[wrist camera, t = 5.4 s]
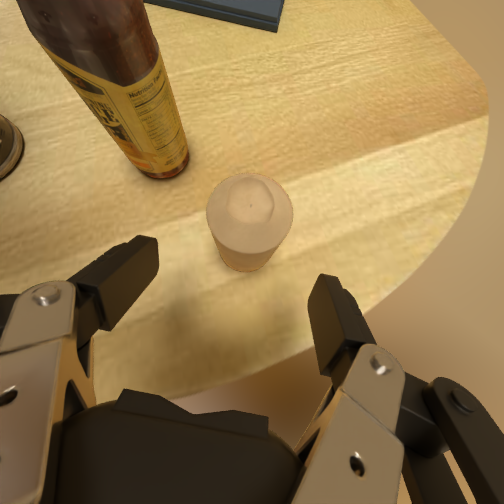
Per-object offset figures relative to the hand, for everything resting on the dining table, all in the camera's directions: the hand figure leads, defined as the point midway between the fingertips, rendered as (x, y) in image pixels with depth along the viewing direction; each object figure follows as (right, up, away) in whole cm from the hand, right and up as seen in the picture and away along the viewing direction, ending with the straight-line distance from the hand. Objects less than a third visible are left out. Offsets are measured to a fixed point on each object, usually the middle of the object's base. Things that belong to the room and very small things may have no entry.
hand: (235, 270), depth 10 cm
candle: (0, +1, +11) cm, 11 cm away
